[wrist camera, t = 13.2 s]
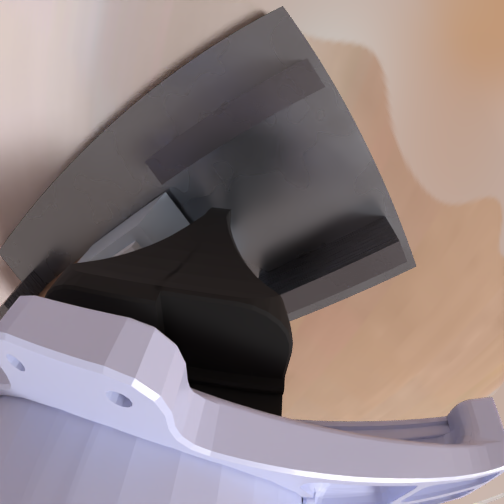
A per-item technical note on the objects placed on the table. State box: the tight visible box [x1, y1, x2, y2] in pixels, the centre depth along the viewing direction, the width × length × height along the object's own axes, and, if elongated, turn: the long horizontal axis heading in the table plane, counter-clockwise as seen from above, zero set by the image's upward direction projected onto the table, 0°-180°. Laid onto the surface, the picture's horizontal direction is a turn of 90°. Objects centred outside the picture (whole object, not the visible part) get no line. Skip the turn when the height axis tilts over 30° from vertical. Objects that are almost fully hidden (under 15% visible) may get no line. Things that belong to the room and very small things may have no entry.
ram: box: [77, 192, 190, 263], centre depth 13 cm, size 5×5×3 cm
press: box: [0, 6, 416, 321], centre depth 13 cm, size 12×20×4 cm, turn 122°
